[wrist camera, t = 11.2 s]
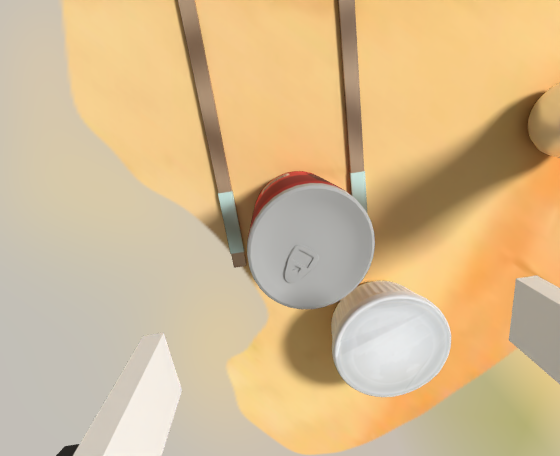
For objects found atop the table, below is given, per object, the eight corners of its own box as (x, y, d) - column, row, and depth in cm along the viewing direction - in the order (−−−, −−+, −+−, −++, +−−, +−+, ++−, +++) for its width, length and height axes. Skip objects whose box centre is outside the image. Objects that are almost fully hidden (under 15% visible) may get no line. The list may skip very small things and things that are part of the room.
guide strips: (169, -39, 22) (168, -41, 22) (350, -66, 22) (351, -69, 22) (237, 284, 31) (237, 285, 30) (368, 264, 31) (370, 265, 30)
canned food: (245, 242, 29) (233, 296, 18) (265, 160, 27) (265, 168, 17) (321, 260, 30) (351, 322, 19) (346, 181, 28) (394, 202, 17)
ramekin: (360, 252, 31) (378, 276, 26) (444, 297, 33) (478, 327, 28) (303, 336, 33) (310, 372, 28) (385, 372, 35) (405, 412, 30)
